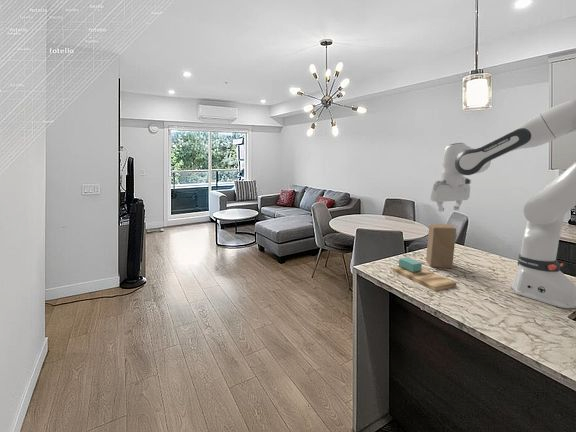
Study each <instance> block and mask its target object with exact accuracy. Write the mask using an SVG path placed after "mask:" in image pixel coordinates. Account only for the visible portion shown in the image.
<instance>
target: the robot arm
mask: <svg viewBox="0 0 576 432" xmlns="http://www.w3.org/2000/svg"><path fill="white" fill-rule="evenodd" d="M574 132H576V99H570V100H568V101H564V102H562V103H559V104H556V105H553V106H552V107H550V108H547V109H545V110H544V111H542V112H540V113H538V114H536V115H534V116H532V117H531V118H530V119H528V120H526V121H525V122H523V123H521V124H520V125H519V126H517V127H516V128H514V129H513V130H511V131H510V132H508V133H506V134H505V135H503V136H501V137H499V138H496V139H495V140H492V141H491V142H489V143H486V144H485V145H483V146H481V147H478V148H472V147H471V146H469V145H467V144H466V143H464V142H457V143H456V142H455V143H450V144H448V145H447V146H446V147H445V148H444V151H443V155H442V171H441V175H440V180H436V181H435V182H434V183H433V187H432V189H431V194H430V200H431V202H434V203H435V202H436V206H437V207H438V212H440V213H441V212H444V211H445V207H443V204H444V202H455V204H454V206H453V211H459V210H460V206H461V204H462V203H463V201H467V200H469V198H470V194H471V185H470V184H471V183H472V179H470V178H468V177H465V176H471V175H475V174H476V175H477V174H481V173H484V172H485V171H487V170H488V168H489V167H490V165H491V162H492V161H493V160H495V159H498V158H500V157H501V156H503V155H504V156H505V154H508V153H509V152H513V151H516V150H520V149H528V148H535V147H539V146H542V145H545V144H548V143H550V142H552V141H554V140H557V139H559V138H560V137H563V136H565V135H568V134H570V133H574ZM575 207H576V161H575V162H574V163H573V164H571V165H570V166H569V167H568V168H566V170H564V171H563V172H562V173H561V174H560V175H558V176H557V177H556V178H555V179H553V180H552V181H551V182H550V183H548V184H547V185H546V186H544V188H542V189H541V190H540V191H538V192H537V193H536V194H535V195H534V196H532V197H531V198H529V199H528V200H527V202H525V204H524V206H523V215H524V217H525V219H526V220H527V221H526V225H525V228H524V232H523V235H522V240H521V241H522V242H521V248H520V253H519V254H518V259H517V269H516V274H515V276H514V279H513V280H512V283H511V284H510V287H511V289H512V290H514V293H515V294H517V295H519V296H523V297H524V298H525V297H526V298H527V299H533V300H535V301H538V302H541V303H546V304H547V305H551V306H555V307H558V308H561V309H575V308H576V283H574V282H573V281H572V280H571V279H569V277H567V275H565V273H564V272H562V271H561V267H563V266H564V263H563V262H562V263H559V261H558V260H557V255H558V250H559V249H558V248H559V241H560V237H561V234H562V233H561V232H562V229H563V225H564V221H565V217H566V216H565V215H566V214H567V213H568V212H570V211H571V210H572V209H573V208H575Z"/></svg>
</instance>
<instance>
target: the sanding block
mask: <svg viewBox="0 0 576 432" xmlns="http://www.w3.org/2000/svg"><path fill="white" fill-rule="evenodd" d="M422 265H423V263H422V262H420V261H417V260H416V259H412V258H410V257H402V258H399V260H398V267H400V268H403V269H405V270H407V271H410V272H412V273H415V272H421V268H422Z"/></svg>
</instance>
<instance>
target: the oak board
mask: <svg viewBox="0 0 576 432" xmlns="http://www.w3.org/2000/svg"><path fill="white" fill-rule="evenodd" d="M392 272H395V273H396V272H397V274H398V275H400V276H403V277H405V278H407V279H410V280H411V281H413V282H416V283H418V284H419V285H422V286H423V287H426V288H429V289H430V290H432V291H439V290H445V289H449V288H454V287H457V284H458V283H457V282H456V281H453V280H451V279H448V278H446V277H444V276H441V275H439V274H436V273H434V272H431V271H429V270H427V269H425V268H422V267H421V272H415V273H412V272H410V271H407V270H405V269H403V268H400V267H399V266H395V267H394V266H393V267H392Z"/></svg>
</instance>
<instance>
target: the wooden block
mask: <svg viewBox="0 0 576 432" xmlns="http://www.w3.org/2000/svg"><path fill="white" fill-rule="evenodd" d="M456 233H457V228H456V227H454V226H452V224H450V223H449V224H447V223H429V224H428V233H427V235H428V236H427V244H426V245H427V247H426V257H425V259H426V263H427V264H428V266H429V267H431V268H440V269H441V268H442V269H452V268H453V266H454V265H453V264H454V254H455V247H456V246H455V244H456V235H457V234H456Z"/></svg>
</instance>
